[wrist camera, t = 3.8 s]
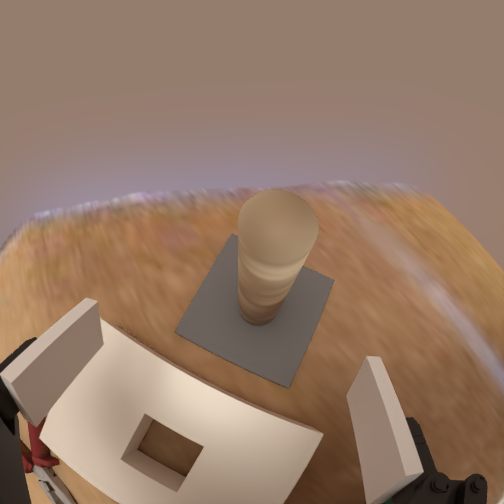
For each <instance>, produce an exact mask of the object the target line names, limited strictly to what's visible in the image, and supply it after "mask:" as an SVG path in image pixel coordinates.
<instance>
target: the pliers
mask: <svg viewBox="0 0 504 504" xmlns="http://www.w3.org/2000/svg"><path fill="white" fill-rule="evenodd" d="M44 424H45V417H44V418H43V420H42V421H41V422H40V424H39V425H38V426H37V427H35V426H34V425H32V424H31V423H29V422H28V430H29V438H30V445H31V451H32V452H31V451H30V450H29V449H28V447H27V446H26V445H25V444H24V443H23V442H22V441H21V439H20V443H21V452H22V459H23V466H24V472H25V473H31V472H34V473H35V475H36V476H37V477H38V478H39V479H40V480H39V481H38V482H39V484H40V486H41V487H42V489H43V491H44V492H45V494H46V495H47V496H48V498H49V499H50V500H51V501H52V503H53V504H76V503H75V501H74V500H73V498H72V496H71V495H70V493H69V491H68V490H67V488H66V487H65V485H64V484H63V482H62V481H61V479H60V478H59V477H58V476H55V477H54V471H53V469H52V466H55V465H58V464H59V459H57V458H54V457H52V456H50V454H49V447H48V446H47V445H46V444H45V443H44V442H43V441H42V440H41V439H40V438H39V437H40V434H41V431H42V429H43V426H44Z"/></svg>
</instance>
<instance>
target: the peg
mask: <svg viewBox="0 0 504 504" xmlns="http://www.w3.org/2000/svg"><path fill="white" fill-rule="evenodd" d="M318 231H319V224H318V219H317V216H316V214H315V212H314V210H313V209H312V207H311V206H310V205H309V204H308V203H307V202H306V201H305V200H304V199H302V198H301V197H299V196H297V195H295V194H293V193H290V192H287V191H281V190H269V191H264V192H261V193H258V194H256V195H254V196H252V197H251V198H250V199H248V200H247V201H246V202H245V204H244V205H243V206H242V208H241V210H240V213H239V217H238V308H239V313H240V315H241V317H242V318H243V319H244V320H245V321H246V322H247V323H249V324H251V325H255V326H262V325H265V324H268V323H269V322H271V321H272V320H273V319H274V318H275V316H276V314H277V312H278V311H279V309H280V307H281V305H282V303H283V302H284V300H285V298H286V296H287V294H288V292H289V291H290V289H291V287H292V285H293V283H294V281H295V279H296V277H297V276H298V274H299V272H300V270H301V268H302V266H303V264H304V262H305V260H306V258H307V257H308V255H309V253H310V251H311V249H312V247H313V245H314V243H315V241H316V239H317V236H318Z"/></svg>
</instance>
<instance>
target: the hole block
mask: <svg viewBox="0 0 504 504" xmlns="http://www.w3.org/2000/svg"><path fill="white" fill-rule="evenodd" d="M100 322H101V329H102V336H103V342H104V345H103V346H102V347H101V348H100V350H99V351H98V352H97V353H96V354H95V355H94V357H93V358H92V359H91V360H90V361H89V363H88V364H87V365H86V366H85V367H84V368H83V370H82V371H81V372H80V373H79V374H78V376H77V377H76V378H75V379H74V381H73V382H72V383H71V384H70V385H69V387H68V388H67V389H66V390H65V392H64V393H63V394H62V395H61V397H60V398H59V399H58V400H57V402H56V403H55V404H54V406H53V407H52V408H51V409H50V411H49V414H48V416H47V419H46V421H45V424H44V426H43V429H42V431H41V434H40V437H39V438H40V439H41V440H42V441H43V442H44V443H45V444H46V445H47V446H48V447H49V448H50V449H51V450H52V451H53V452H54V453H55V454H56V455H57V456H58V457H59V458H60V459H62V460H63V461H64V462H65V463H66V464H67V465H68V466H70V467H71V468H72V469H73V470H74V471H75V472H77V473H78V474H79V475H80V476H82V477H83V478H84V479H85V480H87V481H88V482H89V483H91V484H92V485H93V486H95V487H96V488H97V489H99V490H100V491H102V492H103V493H104V494H106V495H107V496H109V497H110V498H112V499H113V500H115V501H116V502H118V503H119V504H283V503H284V502H285V500H286V499H287V497H288V496H289V494H290V493H291V491H292V489H293V488H294V486H295V485H296V483H297V481H298V480H299V478H300V476H301V475H302V473H303V471H304V470H305V468H306V466H307V465H308V463H309V461H310V459H311V457H312V456H313V454H314V452H315V450H316V448H317V446H318V444H319V443H320V441H321V439H322V437H323V435H324V434H323V433H321V432H320V431H318V430H316V429H315V428H313V427H311V426H309V425H306V424H303V423H300V422H298V421H295V420H292V419H290V418H287V417H285V416H282V415H280V414H277V413H275V412H272V411H270V410H267V409H265V408H263V407H260V406H258V405H256V404H253V403H251V402H249V401H247V400H245V399H242V398H240V397H238V396H236V395H234V394H232V393H230V392H228V391H226V390H224V389H222V388H220V387H218V386H216V385H214V384H212V383H210V382H208V381H206V380H204V379H202V378H200V377H198V376H197V375H195V374H193V373H191V372H189V371H187V370H186V369H184V368H182V367H180V366H179V365H177V364H175V363H174V362H172V361H170V360H168V359H167V358H165V357H163V356H162V355H160V354H159V353H157V352H155V351H154V350H152V349H151V348H149V347H147V346H146V345H144V344H143V343H141V342H140V341H138V340H137V339H135V338H134V337H132V336H131V335H129V334H128V333H126V332H125V331H123V330H122V329H120V328H119V327H118V326H116V325H114V324H112V323H110V322H109V321H107V320H105V319H103V318H101V317H100ZM153 419H155V420H156V421H158V422H160V423H161V424H163V425H165V426H166V427H168V428H170V429H172V430H173V431H175V432H177V433H179V434H181V435H182V436H184V437H186V438H188V439H190V440H192V441H194V442H196V443H198V444H200V445H202V446H204V447H203V449H202V451H201V453H200V454H199V456H198V458H197V459H196V461H195V463H194V465H193V466H192V468H191V470H190V471H189V473H188V475H187V476H186V477H185V476H183V475H181V474H179V473H177V472H175V471H173V470H172V469H170V468H168V467H166V466H164V465H162V464H161V463H159V462H157V461H155V460H154V459H152V458H150V457H149V456H147V455H145V454H144V453H142V452H141V451H139V450H138V447H139V445H140V443H141V441H142V439H143V438H144V436H145V434H146V432H147V430H148V428H149V426H150V425H151V423H152V421H153Z"/></svg>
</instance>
